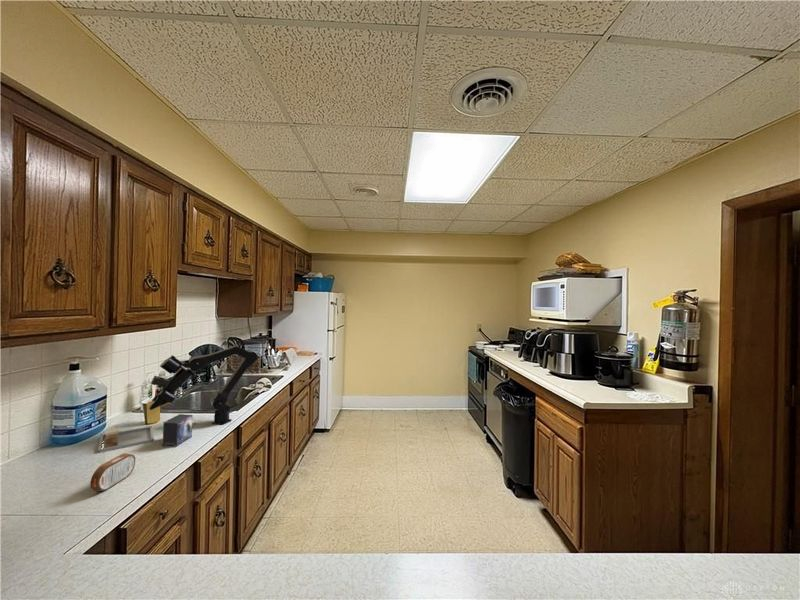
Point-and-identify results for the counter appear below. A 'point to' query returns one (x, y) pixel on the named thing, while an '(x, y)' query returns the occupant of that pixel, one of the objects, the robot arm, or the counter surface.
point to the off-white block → (112, 431)
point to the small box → (177, 430)
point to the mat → (162, 427)
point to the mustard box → (153, 413)
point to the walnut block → (111, 440)
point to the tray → (129, 438)
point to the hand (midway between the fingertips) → (149, 407)
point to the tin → (112, 472)
